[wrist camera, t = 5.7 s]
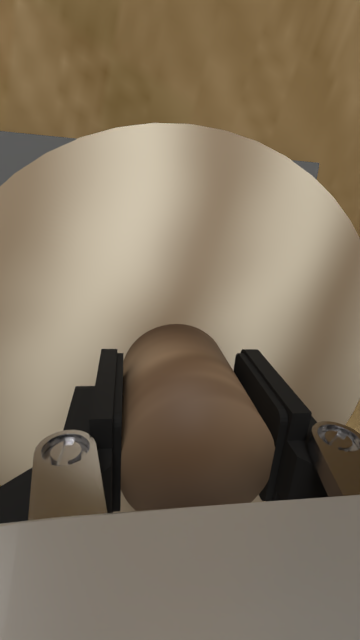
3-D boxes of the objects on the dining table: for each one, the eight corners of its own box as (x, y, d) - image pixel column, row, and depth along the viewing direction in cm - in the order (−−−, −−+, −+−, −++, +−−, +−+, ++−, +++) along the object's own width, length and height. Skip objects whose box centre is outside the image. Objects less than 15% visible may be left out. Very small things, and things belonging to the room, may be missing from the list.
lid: (410, 152, 13) (636, 117, 7) (318, 501, 18) (402, 635, 13) (-101, 101, 10) (-399, -24, 4) (-23, 527, 16) (-107, 712, 10)
